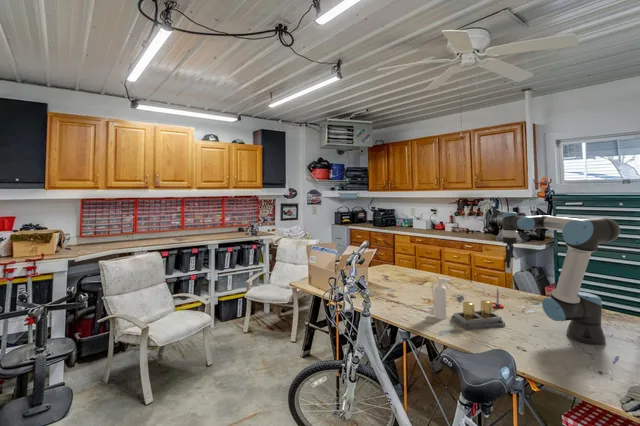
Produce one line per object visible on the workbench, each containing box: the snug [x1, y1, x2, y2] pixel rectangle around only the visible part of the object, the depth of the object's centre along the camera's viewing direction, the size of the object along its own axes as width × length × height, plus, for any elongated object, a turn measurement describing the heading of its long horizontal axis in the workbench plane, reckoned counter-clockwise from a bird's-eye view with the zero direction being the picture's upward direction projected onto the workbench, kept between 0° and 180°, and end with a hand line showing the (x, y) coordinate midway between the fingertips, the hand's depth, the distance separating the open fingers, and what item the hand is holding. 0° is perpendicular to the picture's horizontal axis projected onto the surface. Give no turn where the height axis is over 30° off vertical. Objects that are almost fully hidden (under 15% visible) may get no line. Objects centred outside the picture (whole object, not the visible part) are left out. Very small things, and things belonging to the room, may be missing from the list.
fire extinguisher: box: [428, 276, 451, 320], centre depth 189 cm, size 7×12×25 cm, turn 62°
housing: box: [450, 301, 506, 331], centre depth 180 cm, size 15×24×12 cm, turn 98°
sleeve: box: [480, 299, 493, 318], centre depth 180 cm, size 6×6×10 cm
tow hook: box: [491, 288, 504, 309], centre depth 205 cm, size 8×13×9 cm
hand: (509, 270), depth 192 cm, fingers open, 13 cm apart
